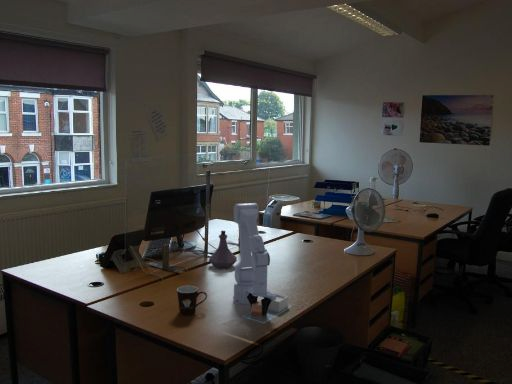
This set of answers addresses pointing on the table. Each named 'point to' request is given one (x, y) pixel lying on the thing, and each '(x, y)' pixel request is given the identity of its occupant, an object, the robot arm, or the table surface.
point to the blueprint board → (266, 318)
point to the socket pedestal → (279, 303)
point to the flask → (223, 254)
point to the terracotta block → (257, 309)
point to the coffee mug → (188, 299)
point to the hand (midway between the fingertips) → (259, 313)
